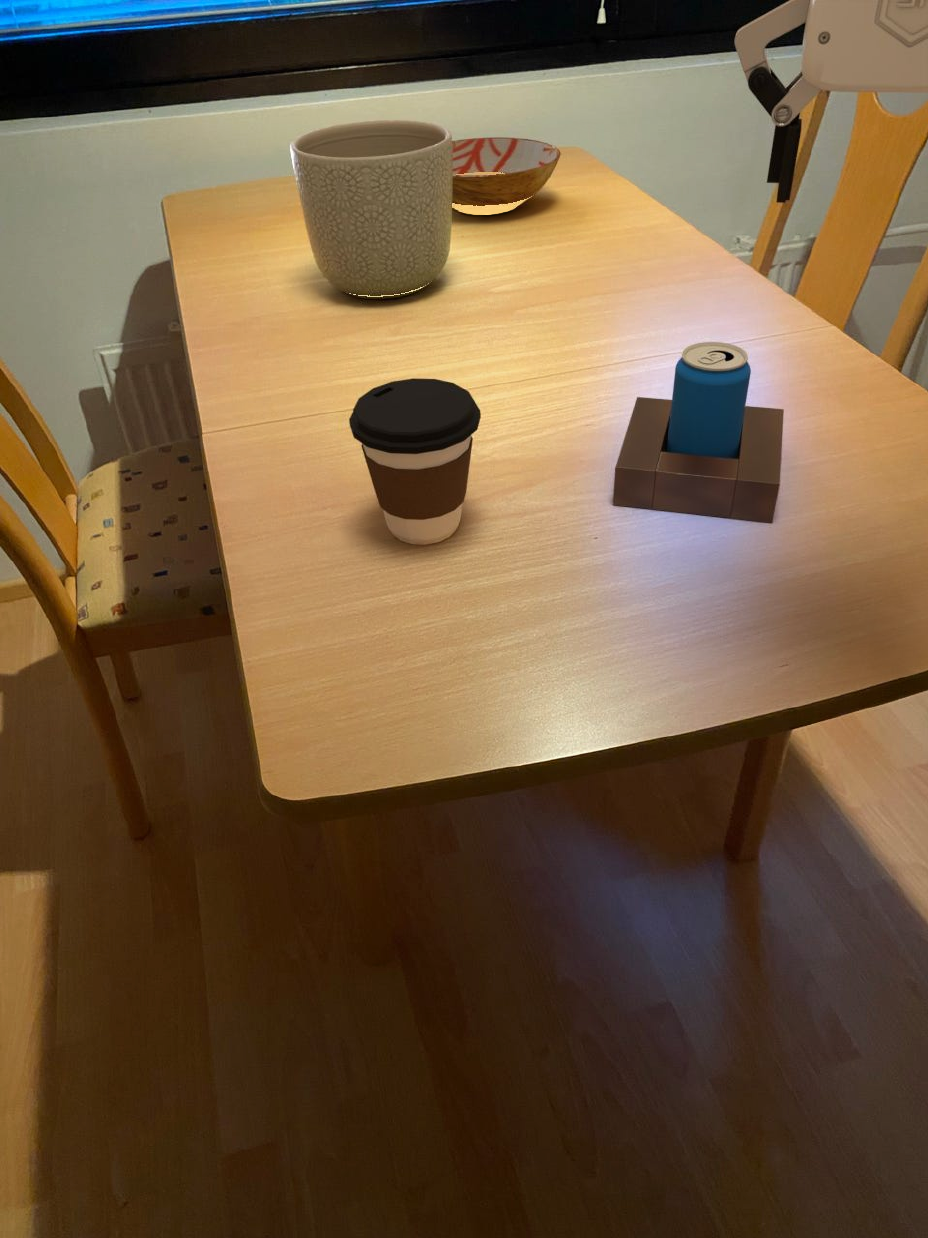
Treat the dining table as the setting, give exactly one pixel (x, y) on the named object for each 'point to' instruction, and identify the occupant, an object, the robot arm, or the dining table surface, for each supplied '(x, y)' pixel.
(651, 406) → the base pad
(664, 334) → the dining table surface
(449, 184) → the planter
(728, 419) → the beverage can
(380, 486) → the coffee cup
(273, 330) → the dining table surface
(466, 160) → the bowl
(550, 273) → the dining table surface
